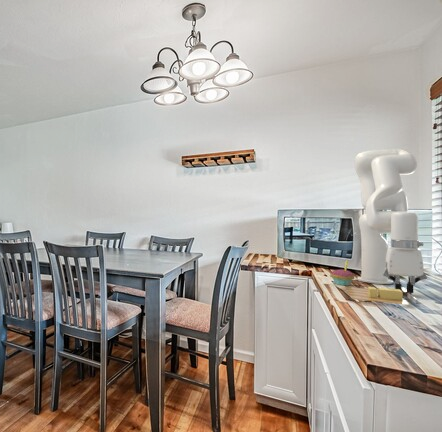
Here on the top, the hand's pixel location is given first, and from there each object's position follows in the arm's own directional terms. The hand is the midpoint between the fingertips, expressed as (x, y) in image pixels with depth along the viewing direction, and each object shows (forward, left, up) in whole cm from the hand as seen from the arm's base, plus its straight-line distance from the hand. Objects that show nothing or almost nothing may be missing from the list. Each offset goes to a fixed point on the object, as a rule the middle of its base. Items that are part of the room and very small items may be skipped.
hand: (404, 294), depth 118 cm
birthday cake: (-12, -18, -1) cm, 21 cm away
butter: (+8, -6, 0) cm, 10 cm away
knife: (+3, 0, -1) cm, 4 cm away
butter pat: (+8, -11, 0) cm, 14 cm away
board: (+5, -10, -1) cm, 11 cm away
